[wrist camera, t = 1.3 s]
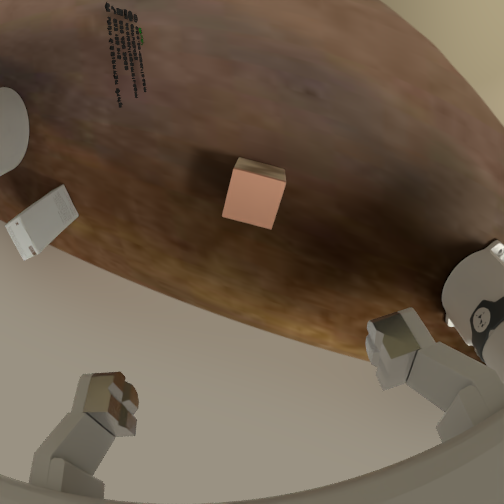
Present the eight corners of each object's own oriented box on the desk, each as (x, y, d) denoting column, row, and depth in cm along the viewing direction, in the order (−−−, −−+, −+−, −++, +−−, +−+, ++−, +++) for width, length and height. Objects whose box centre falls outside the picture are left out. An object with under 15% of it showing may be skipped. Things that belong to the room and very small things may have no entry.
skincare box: (48, 192, 42) (1, 224, 32) (65, 182, 42) (17, 214, 31) (64, 224, 45) (22, 262, 35) (81, 216, 44) (38, 254, 34)
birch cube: (284, 169, 39) (286, 182, 34) (271, 210, 42) (271, 229, 37) (239, 156, 39) (233, 168, 34) (228, 198, 42) (221, 216, 37)
